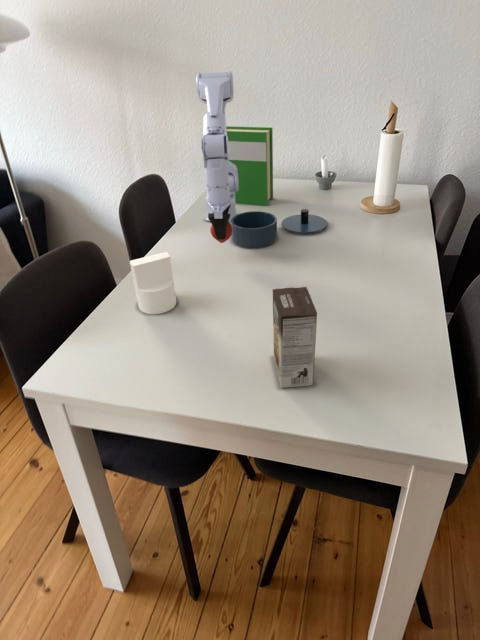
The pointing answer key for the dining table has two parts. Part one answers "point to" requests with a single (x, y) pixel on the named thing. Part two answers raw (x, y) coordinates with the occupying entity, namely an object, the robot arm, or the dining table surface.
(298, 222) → the pot lid
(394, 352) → the dining table surface
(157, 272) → the base with upright slab
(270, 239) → the pot
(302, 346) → the coffee box
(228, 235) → the red round fruit
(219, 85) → the robot arm
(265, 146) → the hardback book
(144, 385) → the dining table surface
